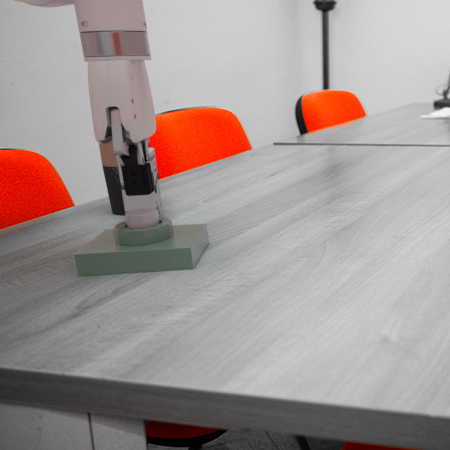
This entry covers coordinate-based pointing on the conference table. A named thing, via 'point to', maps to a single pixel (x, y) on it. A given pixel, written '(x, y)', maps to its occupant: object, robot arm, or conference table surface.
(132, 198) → the ink box
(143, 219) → the pump button
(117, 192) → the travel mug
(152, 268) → the green base with button
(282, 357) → the conference table surface
